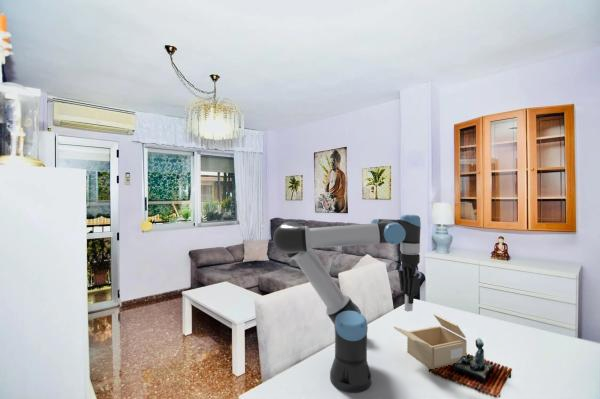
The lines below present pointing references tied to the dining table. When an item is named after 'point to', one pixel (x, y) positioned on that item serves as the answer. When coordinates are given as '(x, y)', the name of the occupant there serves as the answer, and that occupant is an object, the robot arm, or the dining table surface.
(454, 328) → the far flap
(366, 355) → the robot arm
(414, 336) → the near flap
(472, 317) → the dining table surface
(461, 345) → the carton
